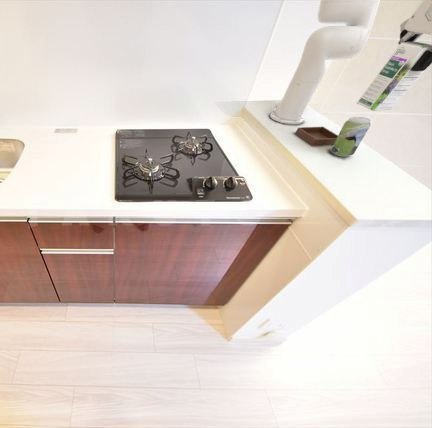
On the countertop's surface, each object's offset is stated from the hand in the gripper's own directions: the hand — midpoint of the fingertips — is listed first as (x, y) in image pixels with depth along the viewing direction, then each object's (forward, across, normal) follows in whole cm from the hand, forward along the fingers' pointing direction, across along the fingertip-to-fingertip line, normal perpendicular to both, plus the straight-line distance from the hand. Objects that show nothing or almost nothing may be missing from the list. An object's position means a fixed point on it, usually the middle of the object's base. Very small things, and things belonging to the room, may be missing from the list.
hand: (405, 66), depth 57 cm
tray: (+27, -14, +4) cm, 31 cm away
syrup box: (+10, 0, 0) cm, 10 cm away
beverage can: (+27, -3, +4) cm, 28 cm away
